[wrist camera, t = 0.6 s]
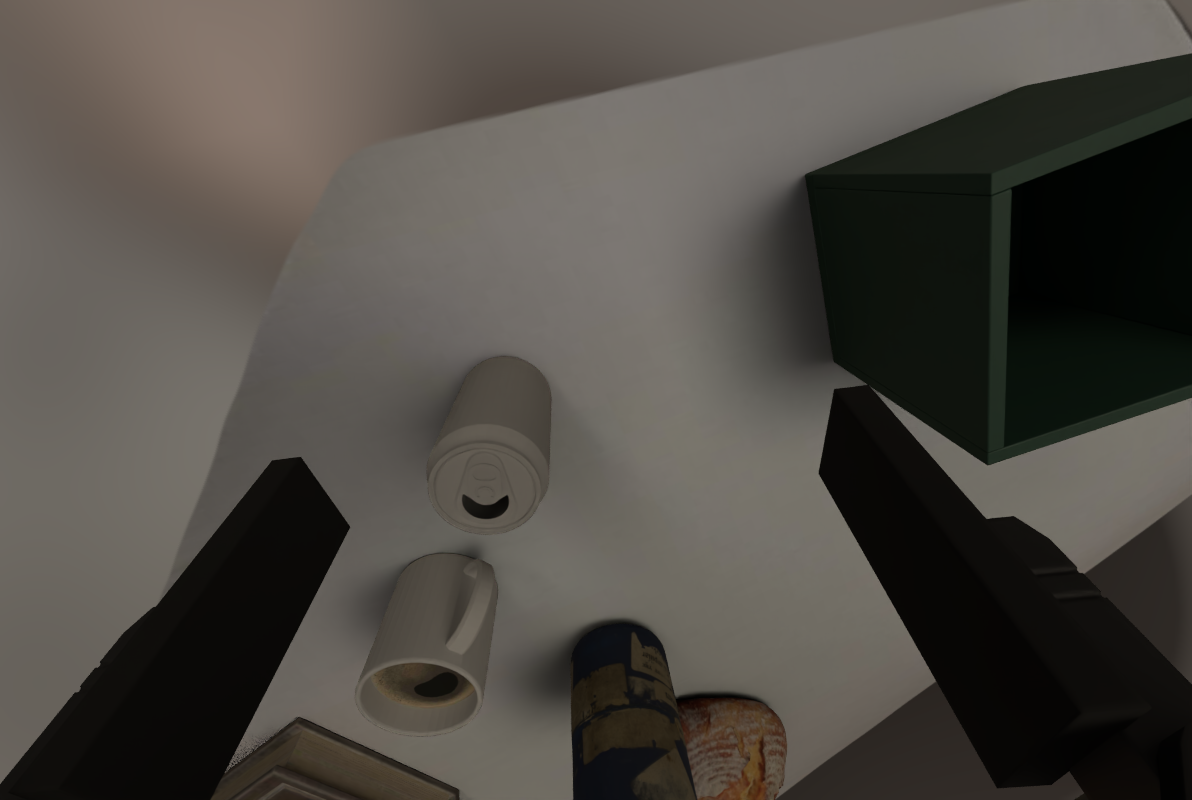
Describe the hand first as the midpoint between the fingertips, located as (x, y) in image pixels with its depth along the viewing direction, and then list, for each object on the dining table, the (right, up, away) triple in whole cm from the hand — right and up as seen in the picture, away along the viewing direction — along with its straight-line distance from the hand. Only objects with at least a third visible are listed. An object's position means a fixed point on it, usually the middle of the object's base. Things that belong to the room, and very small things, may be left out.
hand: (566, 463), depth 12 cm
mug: (-12, -15, +30) cm, 36 cm away
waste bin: (+23, +12, +20) cm, 32 cm away
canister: (+3, -23, +36) cm, 43 cm away
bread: (+13, -38, +43) cm, 59 cm away
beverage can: (-6, +2, +23) cm, 23 cm away
